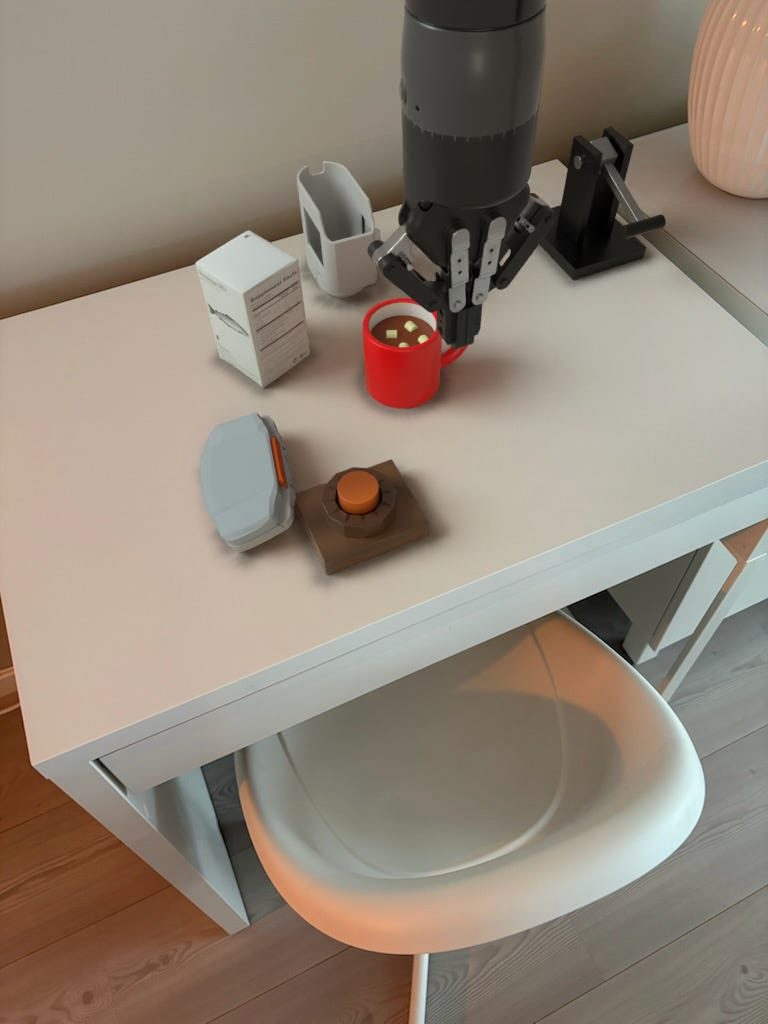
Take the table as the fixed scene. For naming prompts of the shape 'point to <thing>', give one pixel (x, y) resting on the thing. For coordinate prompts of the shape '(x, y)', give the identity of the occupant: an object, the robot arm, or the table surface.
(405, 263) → the robot arm
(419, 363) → the mug
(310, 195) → the cable organizer
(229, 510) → the grey case
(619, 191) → the lever
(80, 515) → the table surface
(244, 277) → the white packaging box
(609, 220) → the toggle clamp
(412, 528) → the button block
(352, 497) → the button
